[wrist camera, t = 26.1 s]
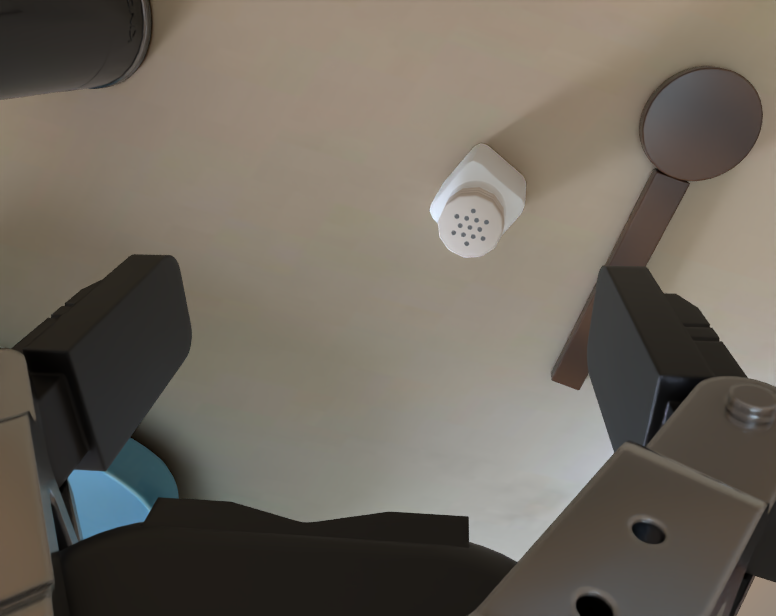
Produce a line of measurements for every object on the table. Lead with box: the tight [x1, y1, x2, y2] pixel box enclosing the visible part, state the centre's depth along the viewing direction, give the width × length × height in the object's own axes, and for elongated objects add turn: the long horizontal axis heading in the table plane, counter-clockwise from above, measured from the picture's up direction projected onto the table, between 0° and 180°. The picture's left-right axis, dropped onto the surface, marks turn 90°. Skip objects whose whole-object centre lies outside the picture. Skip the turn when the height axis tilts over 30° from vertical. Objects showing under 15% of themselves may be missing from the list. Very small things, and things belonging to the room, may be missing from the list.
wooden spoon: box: [551, 66, 763, 390], centre depth 38 cm, size 21×6×1 cm, turn 163°
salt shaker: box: [429, 143, 526, 258], centre depth 34 cm, size 4×4×10 cm
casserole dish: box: [68, 438, 179, 540], centre depth 55 cm, size 37×22×7 cm, turn 70°
